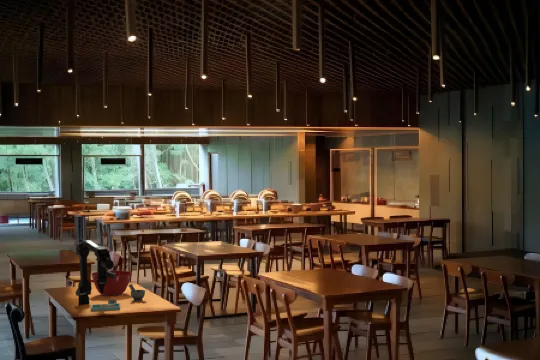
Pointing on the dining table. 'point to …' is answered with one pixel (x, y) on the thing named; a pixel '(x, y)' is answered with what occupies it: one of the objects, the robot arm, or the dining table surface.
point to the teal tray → (98, 308)
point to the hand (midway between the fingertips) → (102, 292)
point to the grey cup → (112, 301)
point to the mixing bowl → (114, 283)
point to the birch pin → (108, 305)
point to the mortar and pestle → (136, 293)
